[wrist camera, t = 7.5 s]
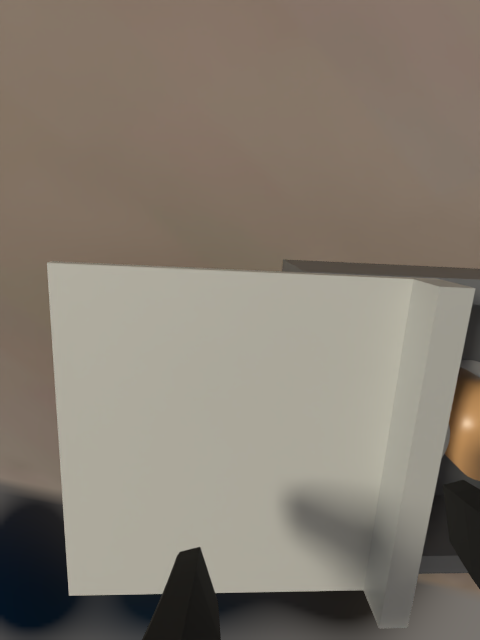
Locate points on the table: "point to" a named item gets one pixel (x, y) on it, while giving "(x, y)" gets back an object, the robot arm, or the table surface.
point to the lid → (252, 426)
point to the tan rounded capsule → (465, 425)
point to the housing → (475, 359)
